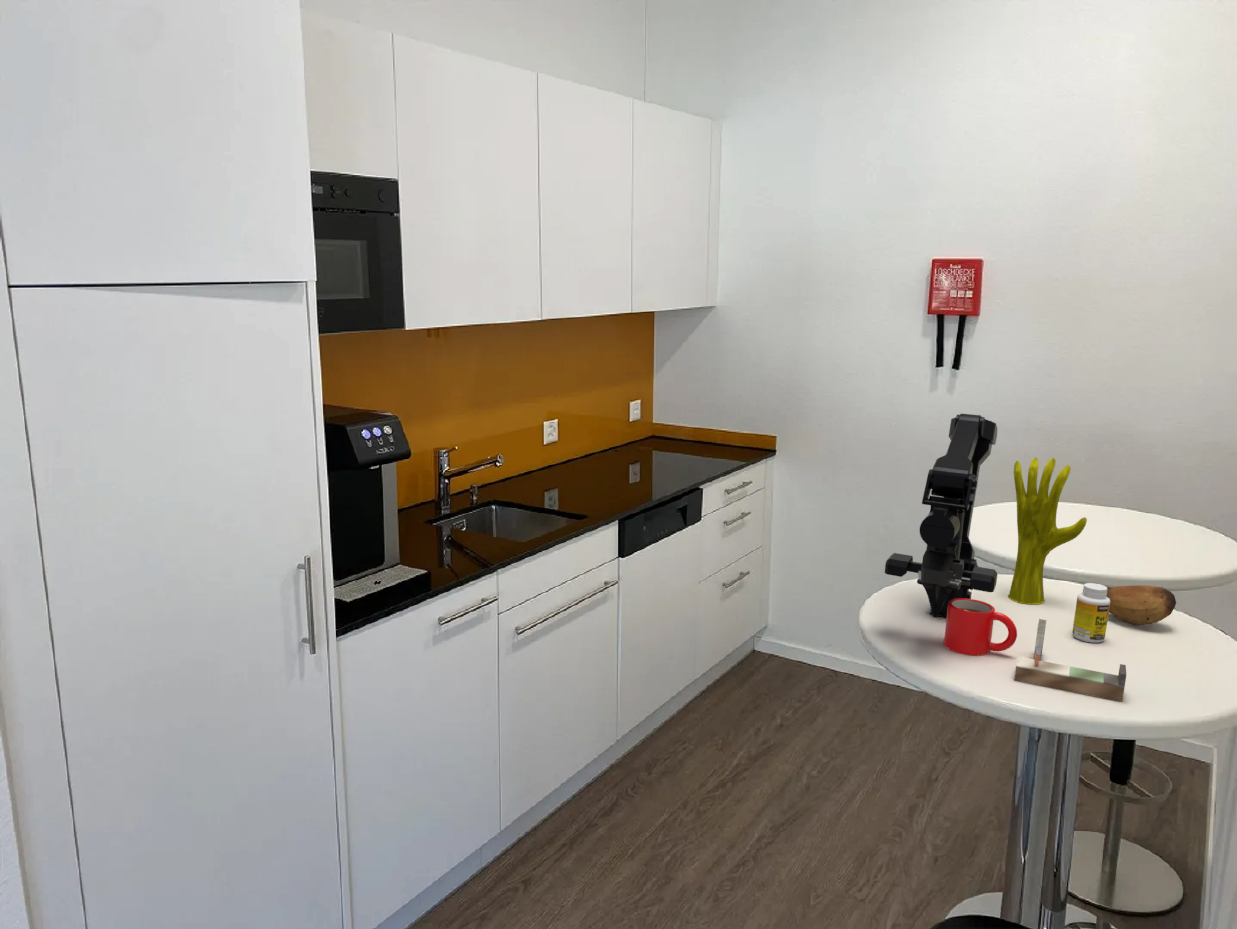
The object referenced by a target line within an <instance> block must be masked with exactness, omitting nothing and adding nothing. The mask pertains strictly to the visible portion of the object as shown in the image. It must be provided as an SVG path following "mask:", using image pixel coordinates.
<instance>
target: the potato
mask: <svg viewBox="0 0 1237 929" xmlns="http://www.w3.org/2000/svg"><path fill="white" fill-rule="evenodd" d="M1106 597H1108V598H1109V599H1110V608H1109V614H1110V615H1112V616H1113V617H1115V618H1117V619H1119V620H1120V621H1123V622H1124V623H1128V624H1131V625H1136V626H1138V627H1139V626H1149V625H1153V624H1156V623H1158V622H1161V621H1163V620H1165V619H1166V618H1168V617H1169V616H1170V615H1171V614H1172V613H1173V611H1174V609H1175V607H1176V604H1177V600H1176V597H1175V594H1174V593H1172V592H1171V591H1170V590H1168V589H1167V588H1165V587H1163V586H1155V585H1153V586H1152V585H1122V586H1115V587H1110V588H1107V596H1106Z"/></svg>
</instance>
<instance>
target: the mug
mask: <svg viewBox="0 0 1237 929" xmlns="http://www.w3.org/2000/svg"><path fill="white" fill-rule="evenodd" d="M994 621H999V622H1001V623H1002V624H1003V625H1004V626H1005V627H1006V629H1007V633H1008V634H1007V636H1006V639H1004V641H1002V642H997V643H996V642H992V635H993V629H994V628H993V627H994ZM944 630H945V631H944V639H943V646H944V647H945V648H946V649H948V650H950V651H952V652H954V653H956V654H962V655H967V656H975V657H976V656H978V657H979V656H984V655H987V654H989V653H990V651H992V652H1003V651H1006V650H1008V649H1010V648H1011V647H1012V646H1014V644H1015V643H1016V641H1017V638H1018V630H1017V627H1016V625H1015V622H1014V621H1013V620H1012V618H1010V617H1009V616H1008V615H1006V614H1004V613H1002V612H999V611H996V608H995V607H994V606H993V605H991V604H990V603H988V602H986V601H982V600H977V599H973V598H971V599H967V598H958V599H952V600H950V601H949V602H948V610H947V617H946V621H945V628H944Z"/></svg>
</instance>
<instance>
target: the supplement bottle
mask: <svg viewBox="0 0 1237 929" xmlns="http://www.w3.org/2000/svg"><path fill="white" fill-rule="evenodd" d="M1107 589H1108V587H1107V586H1105V585H1103V584H1100V583H1099V584H1098V583H1094V582H1093V583H1092V582H1087V583H1084V584H1083V589H1082V592H1080V593H1078V595H1077V596H1076V603H1075V611H1074V618H1073V624H1072V631H1071V632H1072V636H1073V637H1074V638H1076V639H1077V640H1079V641H1083V642H1086V643H1092V644H1095V643H1098V644H1099V643H1102V642H1103V641H1105V640H1106V639H1105V637H1106V632H1107V627H1108V620H1109V614H1110V613H1109V608H1110V599H1109V598H1108V597H1106V596H1107Z"/></svg>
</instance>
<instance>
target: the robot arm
mask: <svg viewBox="0 0 1237 929" xmlns="http://www.w3.org/2000/svg"><path fill="white" fill-rule="evenodd" d="M997 437H998V425H997V423H995V422H994V421H992V420H990V419H989V420H988V419H986V418H985V417H984V416H982V415H981V414H968V413H960V414H956V416H955V417H953V418H951V419H950V424H949V430H948V438H949V439H950V442H949V445H948V449H947V451H946V453H945V455H943V456H940V457H938V458H936V460H935V462H934V464H933V467H932V469H931V468H929V470H928V472H927V477H926V482H925V486H924V491H923V496H922V501H921V504H922V505H926V506H930V510H929V513H928V514H927V516H926V517H925V518H924V519H923V520H922V521H921V523H920V525H919V536H920V538H921V539H922V541H923V542H924V543H925V545H926V550H925V552H924V553H923V556H922V562H917V561H914V558H913V555H909V554H903V553H897V552H893V553H892V554H891V555H890V556H889V557H888V558H887V559H886V561H885V566H884V574H886V575H888V576H894V577H899V578H902V577H904V576H905V575H906V574H907V573H908V572H909V573H916V574H917V575H918V578H917V580H916V583H917V584H918V585H921V586H922V587H923V588H924V590H925V592H926V595H927V598H928V602H929V606H930V611H929V615H931V616H932V618H935V619H937V618H938V617H943V618H947V610H948V602H949V601H950V600H952V599H958V598H967V599H972V594H973V592H972V591H973V590H975V591H979V592H986V593H994V592H995V589H996V585H997V580H998V572H997V571H996V569H994V568H988V567H981V566H978V562H977V561H978V560H977V558H976V559H975V556H976V552H975V549H974V547H973V544H972V543H971V540H970V532H971V527H972V525H971V524H972V520H973V519H972V518H973V512H974V507H975V506H974V505H975V499H976V495H977V488H978V482H979V476H980V470H981V469H980V468H981V465H982V464H983V463H984V462H985V461H986V460H987V459H988V458H989V457H990V455H991V452H992V448H993V445H994V446H995V445H996V444H997V439H998V438H997ZM930 494H931V495H930Z"/></svg>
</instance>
